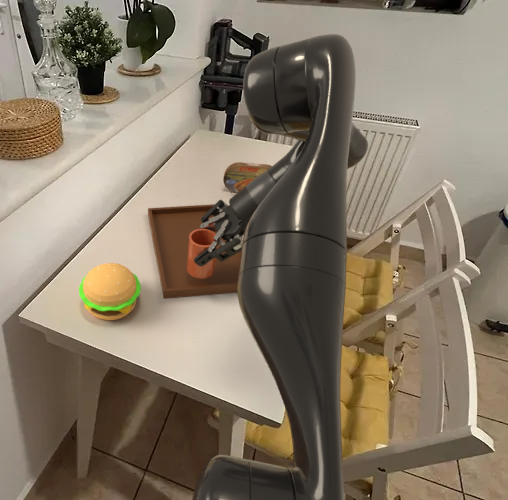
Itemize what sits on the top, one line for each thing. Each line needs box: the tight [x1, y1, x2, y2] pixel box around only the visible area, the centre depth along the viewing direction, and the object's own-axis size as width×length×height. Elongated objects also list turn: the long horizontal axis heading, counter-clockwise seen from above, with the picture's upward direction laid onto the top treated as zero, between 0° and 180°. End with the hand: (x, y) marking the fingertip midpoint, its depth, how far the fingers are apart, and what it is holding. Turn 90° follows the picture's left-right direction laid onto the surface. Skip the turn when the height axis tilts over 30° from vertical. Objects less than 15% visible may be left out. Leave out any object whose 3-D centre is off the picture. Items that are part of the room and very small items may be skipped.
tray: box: [147, 203, 243, 299], centre depth 100 cm, size 30×21×2 cm
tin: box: [222, 161, 273, 194], centre depth 117 cm, size 15×3×8 cm, turn 80°
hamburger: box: [78, 262, 142, 321], centre depth 84 cm, size 12×12×9 cm
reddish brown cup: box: [187, 229, 218, 279], centre depth 87 cm, size 6×6×8 cm
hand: (193, 252), depth 87 cm, fingers closed on reddish brown cup, 6 cm apart
